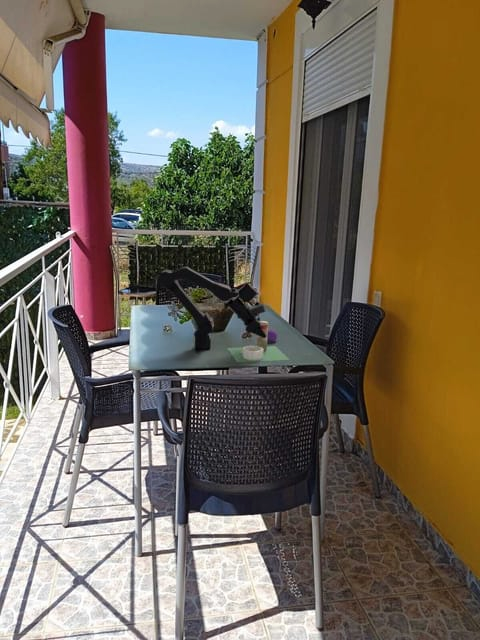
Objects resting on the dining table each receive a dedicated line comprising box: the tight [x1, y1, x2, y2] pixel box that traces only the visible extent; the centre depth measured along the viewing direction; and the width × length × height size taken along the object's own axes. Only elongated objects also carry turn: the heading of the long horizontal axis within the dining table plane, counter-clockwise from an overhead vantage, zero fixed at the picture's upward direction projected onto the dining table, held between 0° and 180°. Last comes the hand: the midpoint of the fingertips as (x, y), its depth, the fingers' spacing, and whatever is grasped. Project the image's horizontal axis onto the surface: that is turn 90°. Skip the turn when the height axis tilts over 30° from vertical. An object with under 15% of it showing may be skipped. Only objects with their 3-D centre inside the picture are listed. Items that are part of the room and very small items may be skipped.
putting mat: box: [227, 345, 291, 363], centre depth 196 cm, size 22×19×1 cm
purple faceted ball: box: [267, 329, 278, 343], centre depth 223 cm, size 6×6×20 cm
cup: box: [242, 345, 264, 360], centre depth 192 cm, size 8×8×4 cm
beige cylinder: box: [256, 320, 269, 352], centre depth 200 cm, size 4×4×12 cm
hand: (265, 335), depth 200 cm, fingers closed on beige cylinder, 4 cm apart
